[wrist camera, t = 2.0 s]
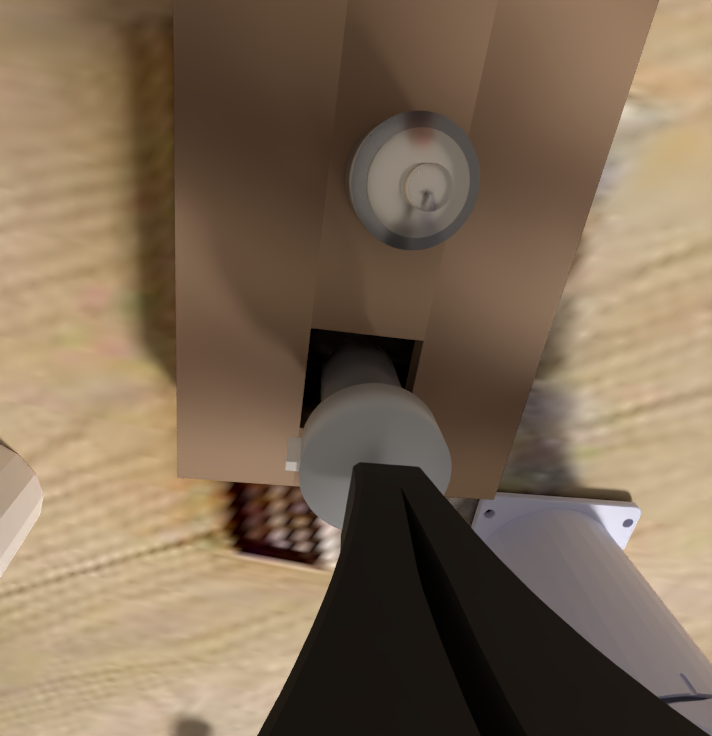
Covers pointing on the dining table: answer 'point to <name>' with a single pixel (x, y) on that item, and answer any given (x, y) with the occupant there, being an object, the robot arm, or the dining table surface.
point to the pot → (413, 179)
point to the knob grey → (363, 430)
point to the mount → (346, 231)
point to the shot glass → (16, 503)
